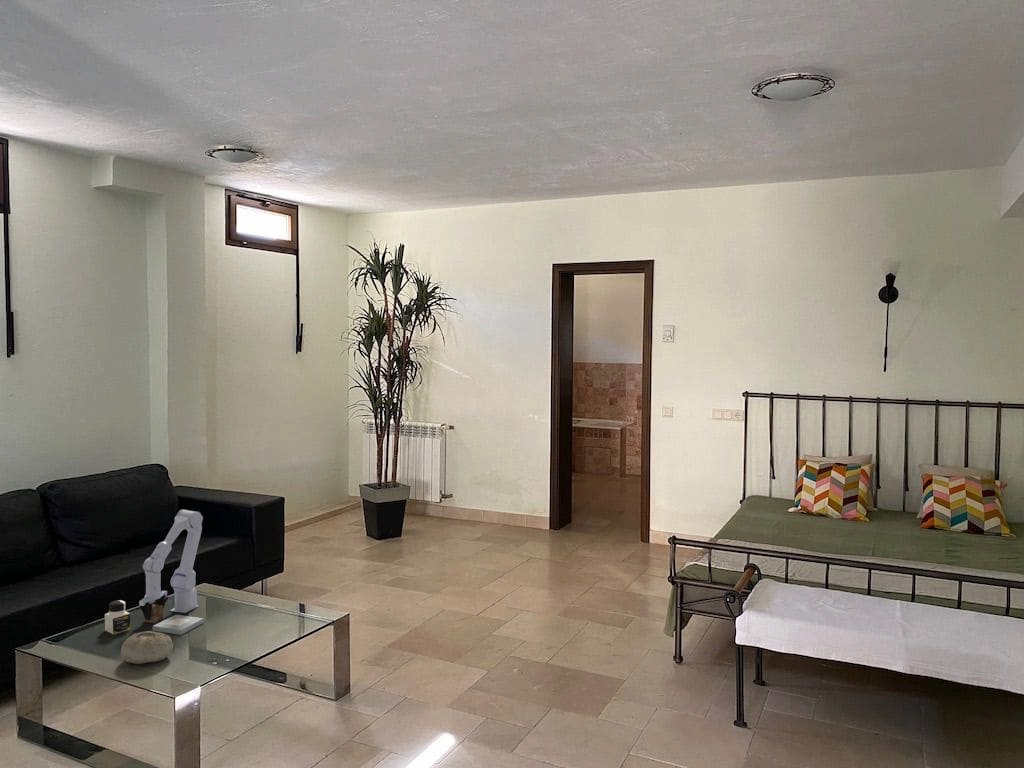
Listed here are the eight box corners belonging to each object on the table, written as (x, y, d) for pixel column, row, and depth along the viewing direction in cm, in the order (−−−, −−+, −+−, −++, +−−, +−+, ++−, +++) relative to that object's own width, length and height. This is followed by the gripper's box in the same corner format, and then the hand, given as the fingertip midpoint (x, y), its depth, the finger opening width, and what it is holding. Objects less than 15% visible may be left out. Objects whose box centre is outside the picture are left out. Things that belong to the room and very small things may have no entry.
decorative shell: (168, 647, 310) (168, 622, 309) (177, 663, 295) (176, 637, 294) (118, 657, 300) (117, 631, 300) (124, 674, 285) (123, 647, 285)
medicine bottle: (113, 634, 322) (112, 605, 321) (104, 630, 326) (104, 602, 326) (130, 629, 328) (130, 601, 327) (121, 625, 332) (121, 597, 331)
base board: (175, 619, 340) (175, 614, 340) (203, 622, 337) (203, 618, 336) (152, 630, 327) (152, 625, 327) (181, 634, 323) (181, 629, 323)
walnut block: (153, 617, 342) (152, 604, 342) (162, 619, 340) (162, 605, 340) (144, 621, 337) (144, 608, 337) (154, 623, 336) (154, 609, 335)
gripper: (157, 579, 346) (157, 610, 347) (133, 590, 332) (133, 621, 333) (171, 581, 344) (171, 612, 345) (147, 591, 330) (147, 623, 331)
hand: (153, 617), depth 339 cm, fingers open, 7 cm apart
